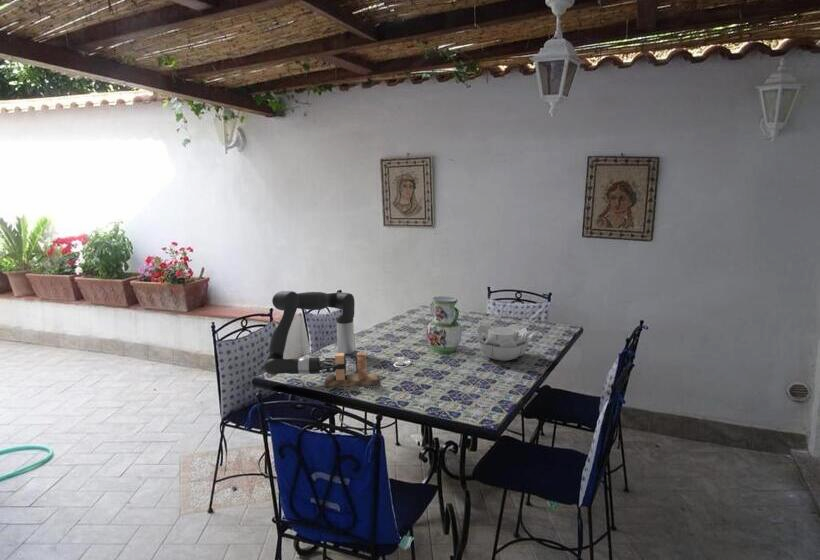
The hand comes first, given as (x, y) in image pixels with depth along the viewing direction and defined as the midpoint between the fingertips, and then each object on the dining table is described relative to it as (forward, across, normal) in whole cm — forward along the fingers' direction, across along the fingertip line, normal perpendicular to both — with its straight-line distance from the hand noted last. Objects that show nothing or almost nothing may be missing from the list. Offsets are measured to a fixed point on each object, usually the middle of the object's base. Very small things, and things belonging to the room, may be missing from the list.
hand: (345, 364), depth 241 cm
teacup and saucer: (+28, +20, +10) cm, 36 cm away
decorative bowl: (+80, +28, +9) cm, 86 cm away
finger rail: (+2, 0, +9) cm, 9 cm away
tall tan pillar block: (-3, 0, +9) cm, 9 cm away
